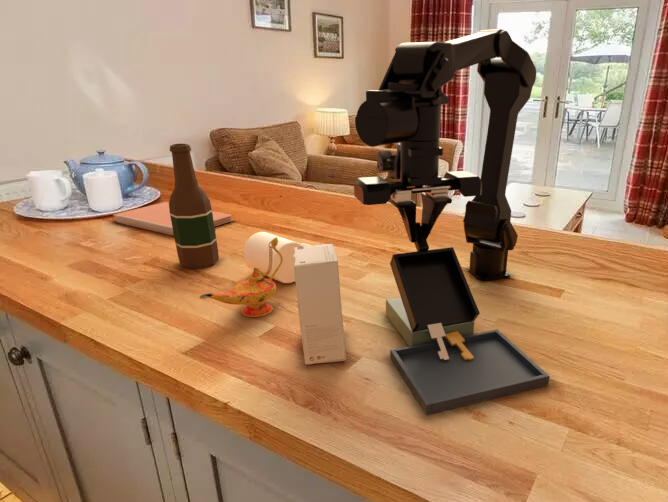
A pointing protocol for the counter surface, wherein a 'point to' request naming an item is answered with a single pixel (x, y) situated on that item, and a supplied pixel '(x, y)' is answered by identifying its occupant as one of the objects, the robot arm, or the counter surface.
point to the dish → (432, 286)
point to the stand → (402, 325)
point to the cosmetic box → (319, 303)
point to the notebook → (159, 218)
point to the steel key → (438, 339)
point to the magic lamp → (252, 290)
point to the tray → (466, 371)
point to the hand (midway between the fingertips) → (417, 241)
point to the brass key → (459, 344)
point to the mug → (259, 256)
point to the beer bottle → (191, 214)
